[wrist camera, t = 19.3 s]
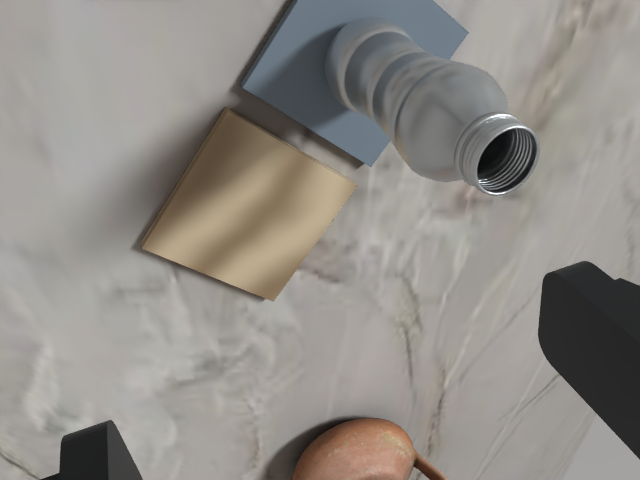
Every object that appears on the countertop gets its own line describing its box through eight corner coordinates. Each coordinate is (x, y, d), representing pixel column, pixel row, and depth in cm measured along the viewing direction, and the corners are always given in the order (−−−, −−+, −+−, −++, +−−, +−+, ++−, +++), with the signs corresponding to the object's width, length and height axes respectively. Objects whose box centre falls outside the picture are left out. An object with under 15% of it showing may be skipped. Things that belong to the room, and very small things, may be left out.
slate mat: (240, 84, 44) (242, 88, 43) (341, -78, 41) (346, -77, 40) (366, 162, 51) (371, 167, 50) (462, 29, 48) (468, 32, 47)
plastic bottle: (413, 36, 46) (591, 126, 29) (367, 114, 48) (510, 238, 31) (346, -7, 42) (505, 68, 26) (300, 79, 44) (420, 197, 28)
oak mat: (140, 242, 48) (141, 248, 47) (225, 106, 45) (228, 111, 44) (270, 295, 55) (273, 301, 54) (352, 181, 52) (357, 186, 51)
